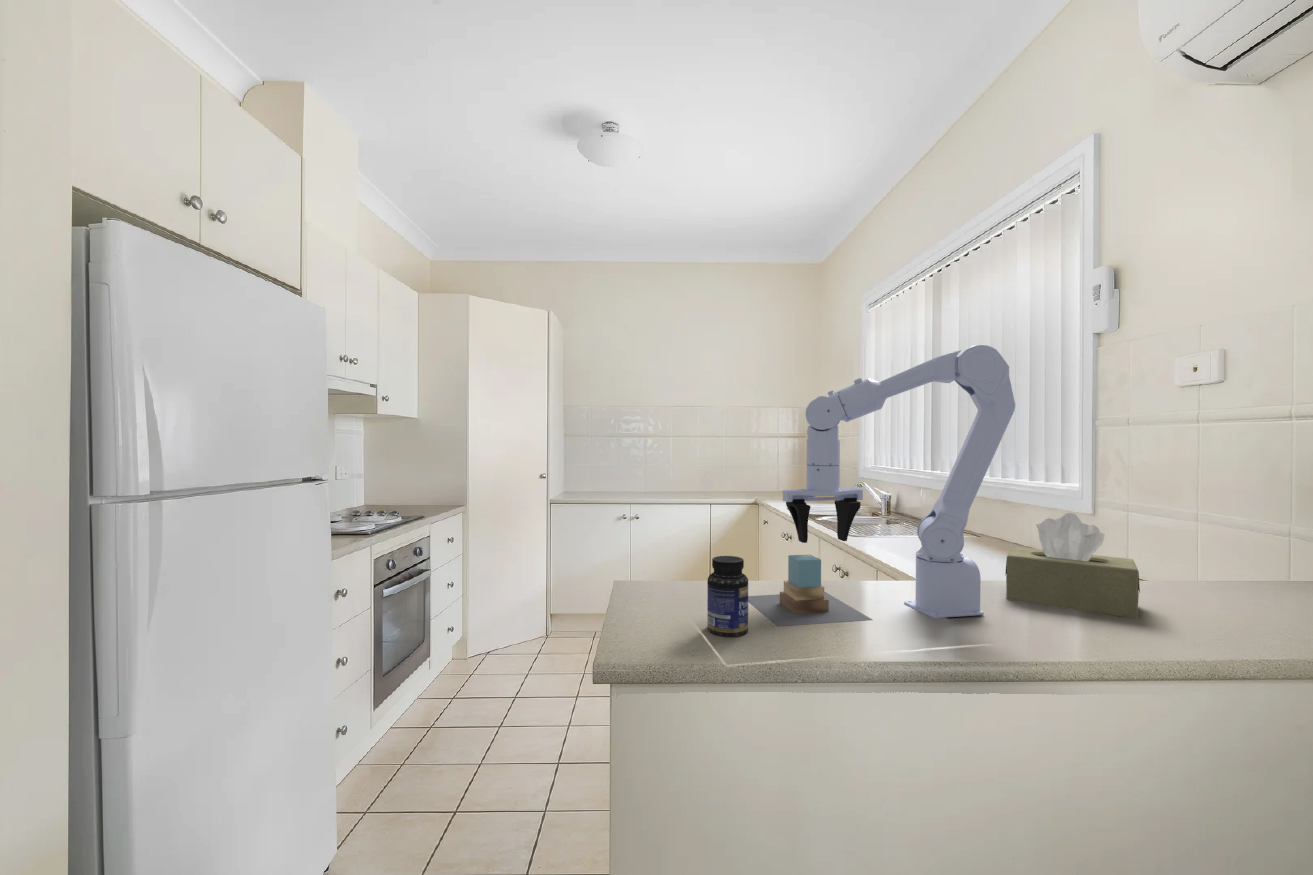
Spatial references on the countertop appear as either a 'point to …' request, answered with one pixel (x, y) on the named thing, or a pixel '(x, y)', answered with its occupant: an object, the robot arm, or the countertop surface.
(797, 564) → the block
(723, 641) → the countertop surface
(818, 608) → the tower base
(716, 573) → the pill bottle
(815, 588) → the tower mid
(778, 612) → the mat
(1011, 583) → the tissue box
